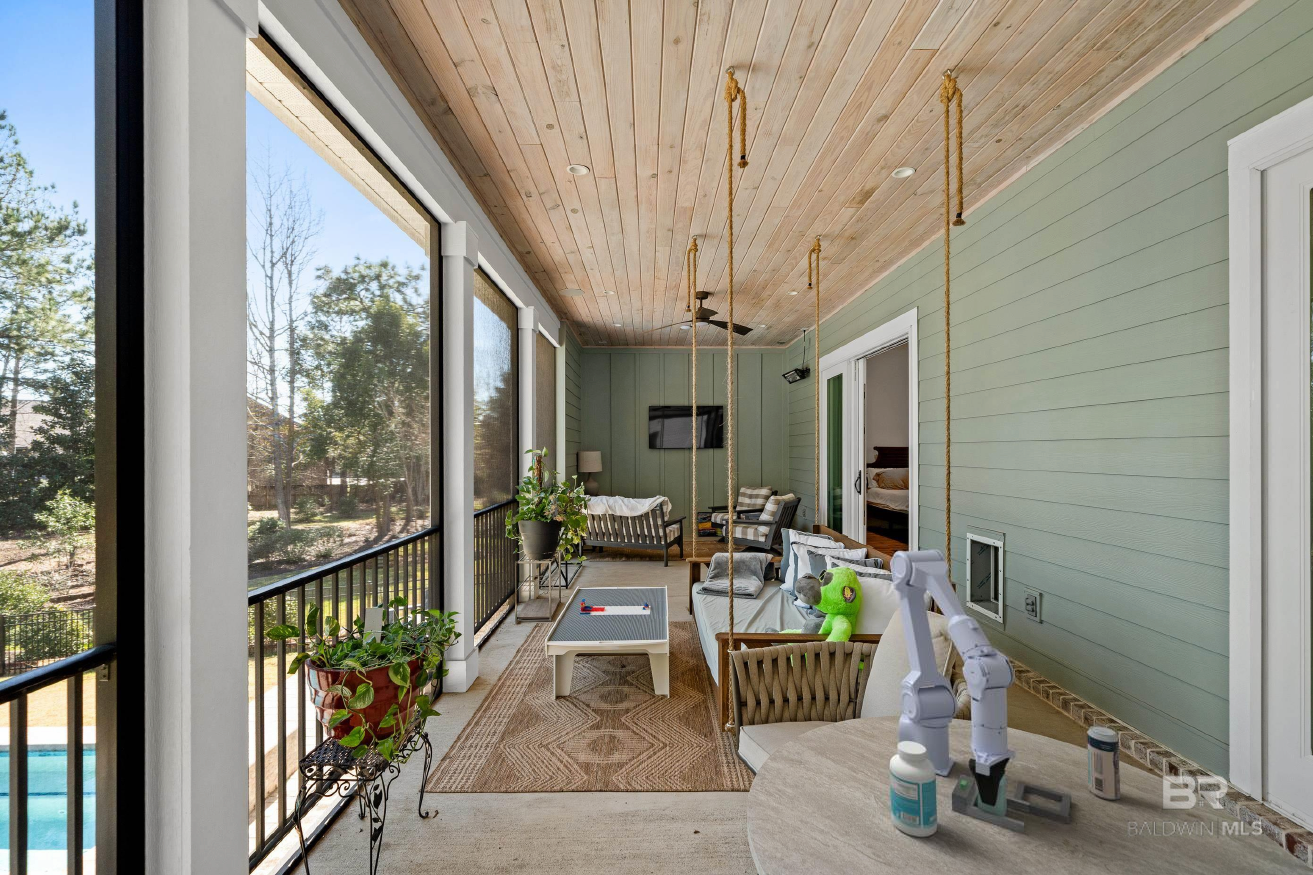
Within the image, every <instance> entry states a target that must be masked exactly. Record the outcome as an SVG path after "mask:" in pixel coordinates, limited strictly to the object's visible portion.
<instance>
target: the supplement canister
mask: <svg viewBox="0 0 1313 875" xmlns="http://www.w3.org/2000/svg"><path fill="white" fill-rule="evenodd" d="M1086 733H1087V734H1086V735H1087V773H1088V790H1089V791H1090V792H1091V793H1092V794H1094V795H1095V796H1097V797H1098V798H1101V799H1103V800H1104V799H1105V800H1109V801H1110V800H1111V801H1113V800H1114V801H1115V800H1118V799H1120V798H1121V779H1120V778H1121V777H1120V776H1121V774H1120V746H1119V745H1120V743H1119V742H1120V740H1119V737H1118V735H1117V732H1116V731H1114V730H1113V729H1111V728H1108V727H1105V726H1100V725H1091V726H1090V727H1089V730H1087V731H1086Z"/></svg>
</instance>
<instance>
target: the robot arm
mask: <svg viewBox="0 0 1313 875" xmlns="http://www.w3.org/2000/svg"><path fill="white" fill-rule="evenodd" d="M889 564H890V565H889V566H890V571H891V572H890V573H891V578H892V582H893V583H892V584H893V588H894V590H895V591H896V592H897V597H898V598H897V599H898V604H899V608H900V616H901V620H902V626H903V632H904V637H905V643H906V649H907V655H908V660H909V666H910V672H909V674H907V676H905V677H904V679H902V681H901V682H900V684H901V685H900V686H901V696H900V698H901V699H900V703H901V707H902V711H903V712H904V713H902V714H901V715H900V717H899V721H898V732H897V733H898V736H897V737H898V743H900V742H903V741H911V742H916V743H919V744H921V745H923V746H924V747H925V748H926V754H927V757H926V759H928V760H929V761H930V762H931V763H932V764H933V766H934V768H935V773H936V774H937V775H940V776H944V777H947V776H948V775H949V773H950V772H951V769H952V767H953V766H954V764H955V762H956V761H955V760H956V759H955V758H953V757H951V756H950V741H949V740H950V735H949V734H950V733H949V727H950V726H949V724H952V722H953V720H952V718H954V717H956V716H957V713H958V709H959V708H958V706H959V704H958V700H957V697H956V695H955V693H954V691H953V688H952V684H951V681H950V679H948V678H947V677H946V676H945V675H943V674H942V673H941V672H940V671H939V670H938V665H937V660H936V654H935V649H934V648H935V647H934V643H933V637H932V633H931V628H930V621H929V615H928V612H927V606H926V601H925V594H926V593H927V591H928V593H929V594H930V596H931V597H932V599H933V600H934V602H935V603H936V605H937V606H938V608H939V609H940V610H941V613H942V614H943V615H944V617H945V618H946V620H947V622H948V625H947V628H946V632H947V634H948V635H949V637H950V639H951V640H952V642H953V644H954V646H955V648H956V649H957V652H958V653H959V656H960V657H961V659H962V661H963V662H964V664H963V666H962V675H963V676H964V679H965V682H966V685H967V686H966V687H967V693H968V695H970V714H971V716H970V718H971V723H970V724H971V727H970V728H971V741H970V748H971V749H970V750H971V751H972V754H973V757H974V758H972V757H971V758H969V759H968V768H969V770H970V771H971V773H972V774H973V778H975V784H976V785H977V786H978V790H979V795H980V798H981V801H982V803H984V804H987V805H991V806H995V804H996V800H997V795H998V788H999V783H1000V781H1001V779H1002V777H1003V776H1004V775H1005V774H1006V767H1007V765H1008V763H1009V762H1010V760H1011V759H1016V751H1015V750H1014V749H1010V748H1009V746H1008V743H1009V742H1008V710H1007V709H1008V704H1007V698H1008V697H1007V687H1010V686H1012V685H1013V683H1014V680H1015V672H1014V668H1013V665H1012V664H1011V662H1010V660H1009V658H1008V657H1007V656H1006V655H1005V654H1003V653H1001V652H999V650H998V649H996V647H995V648H994V647H993V646H992V644H991V643H990V641H989V640H988V638H987V636H986V634H985V633H984V631H983V629H982V627H981V625H980V624H979V622H978V620H976V618H975V617H972V616H969V615H967V614H966V612H965V610H964V608H963V606H962V604H961V602H960V599H959V597H958V595H957V594H956V591H955V590H954V588H953V585H952V584H951V581H950V579H949V578H948V577H949V573H950V572H949V571H950V566H949V564H948V562H947V560H946V558H945V556H944V554H943V553H942V552H941V551H940V550H939V549H930V550H928V549H927V550H908V551H904V550H898V551H896V552H895V553H894V554H893V556H892V558H891V560H890V562H889ZM977 786H976V787H977Z"/></svg>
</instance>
